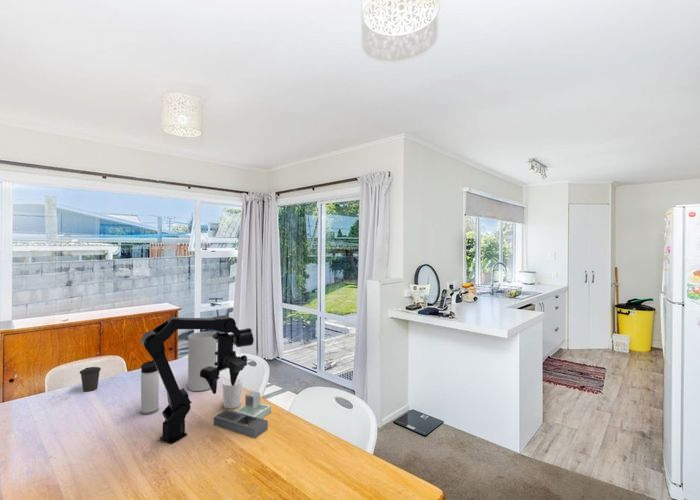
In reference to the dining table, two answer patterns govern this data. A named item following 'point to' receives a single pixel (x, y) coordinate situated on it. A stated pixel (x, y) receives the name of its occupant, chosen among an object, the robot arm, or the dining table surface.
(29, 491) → the dining table surface
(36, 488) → the dining table surface
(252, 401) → the brushed aluminium bar
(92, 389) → the coffee cup
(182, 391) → the robot arm
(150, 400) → the travel mug
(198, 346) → the cylinder vase
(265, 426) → the rail
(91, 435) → the dining table surface
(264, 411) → the parts tray
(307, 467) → the dining table surface
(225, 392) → the white cup
